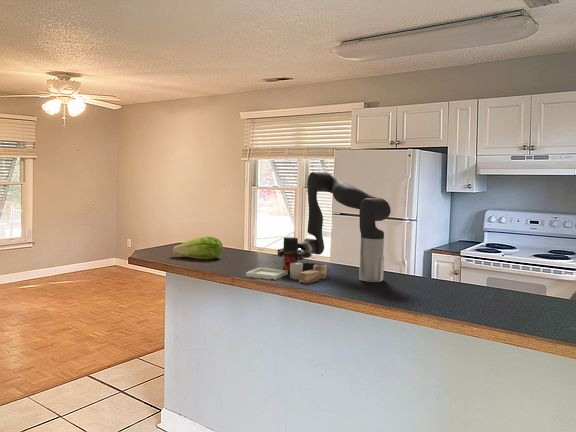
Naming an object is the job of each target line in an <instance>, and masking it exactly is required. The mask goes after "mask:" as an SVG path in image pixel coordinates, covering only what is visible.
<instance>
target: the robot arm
mask: <svg viewBox="0 0 576 432" xmlns="http://www.w3.org/2000/svg"><path fill="white" fill-rule="evenodd" d="M306 187H307V188H306V189H307V203H308V219H307V220H308V221H307V233H308V234H309V235H311V236H313V237H315V238H307V237H306V238H305V239H303V241H300V242H298V249H297V261H301V260H304V259H309V258H311V257H312V255H318V256H319V255H322V254H323V252H324V251H325V243H324V239H323V238H324V237H323V226H324V216H323V213H322V212H323V211H322V210H321V207H320V205H319V203H318V198H317V197H318V192H324V193H325V192H327V193H331V194H332V195H333V198H334V199H335V201H336V202H338V203H339V204H340V205H343V206H345V207H347V208H351V209H355V210H359V232H360V247H359V248H360V250H359V251H360V252H359V271H358V273H359V274H358V280H359V281H362V282H367V283H382V281H383V280H384V269H385V265H384V264H385V257H384V248H385V246H384V245H385V242H384V241H385V232H384V230H381V229H379V228H378V227H377V226H376V222H380V221H385V220H386V219H388V218H389V217H390V215H391V212H392V210H391V205H390V203H389V202H388V201H387V200H386V199H384V198H383V197H379V196H374V195H371V194H369V193H368V192H365V191H363V190H361V189H360V188H357V187H356V186H354V185H351V184H349V183H347V182H344V181H342V180H340V179H338V178H337V177H336V176H333V175H332V174H331V173H330V172H327V171H326V172H325V171H312V172H310V173H309V175H308V177H307V186H306ZM283 249H284V247H283V248H278V249H277V256H278V257H279V258H280V257H283Z"/></svg>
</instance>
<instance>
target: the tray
mask: <svg viewBox="0 0 576 432" xmlns="http://www.w3.org/2000/svg"><path fill="white" fill-rule="evenodd" d="M287 274H288V270H283V269H276V268H267V267H257V268H254V269H252V270H249V271H246V273H245V277H246V278H252V277H253V278H254V279H261V278H263V280H270V279H274V280H273V281H277V280H279V279H282V278H283V276H284V277H286V276H288V275H289V274H288V275H287ZM285 275H286V276H285ZM281 277H282V278H281ZM278 278H279V279H278ZM276 279H277V280H276Z"/></svg>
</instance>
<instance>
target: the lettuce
mask: <svg viewBox="0 0 576 432" xmlns="http://www.w3.org/2000/svg"><path fill="white" fill-rule="evenodd" d="M172 251H173V252H172V253H174V254H176V255H180V256H183V257H186V258H192V259H197V260H208V259H210V260H213V259H216V258H219V257H220V256H221V255H222V254H223V251H224V249H223V242H222V241H221V240H220V239H219V238H215V237H214V236H204V237H198V238H193V239H190V240H187V241H185V242H183V243H180V244H178V245H176V246H173V249H172Z"/></svg>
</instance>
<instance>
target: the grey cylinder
mask: <svg viewBox="0 0 576 432" xmlns="http://www.w3.org/2000/svg"><path fill="white" fill-rule="evenodd" d="M303 267H304V263H302V262H298V261H297V262H295V263H290V274H289V279H290V278H292V279H291V280H299V274H300V272H304V271H303V270H304V269H303Z"/></svg>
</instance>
